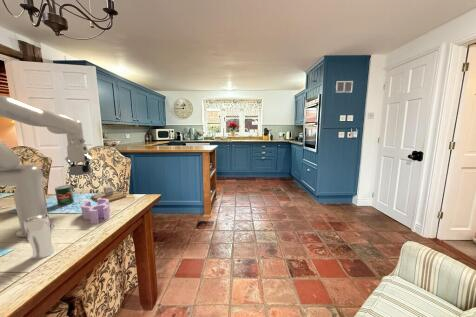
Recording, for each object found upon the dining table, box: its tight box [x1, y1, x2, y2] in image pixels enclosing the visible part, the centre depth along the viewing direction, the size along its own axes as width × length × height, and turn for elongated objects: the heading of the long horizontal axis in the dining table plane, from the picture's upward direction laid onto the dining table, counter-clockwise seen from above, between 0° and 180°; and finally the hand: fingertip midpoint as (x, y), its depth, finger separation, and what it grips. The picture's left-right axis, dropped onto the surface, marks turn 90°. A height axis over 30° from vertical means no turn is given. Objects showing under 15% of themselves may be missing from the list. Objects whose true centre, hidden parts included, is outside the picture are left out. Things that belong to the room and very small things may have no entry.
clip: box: [80, 198, 111, 225], centre depth 109 cm, size 20×12×7 cm, turn 44°
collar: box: [68, 163, 92, 176], centre depth 119 cm, size 7×7×5 cm
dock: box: [91, 185, 127, 203], centre depth 135 cm, size 18×14×8 cm
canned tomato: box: [54, 184, 75, 207], centre depth 126 cm, size 8×8×11 cm
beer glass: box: [24, 214, 55, 260], centre depth 76 cm, size 7×7×15 cm
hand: (80, 171), depth 119 cm, fingers closed on collar, 7 cm apart
